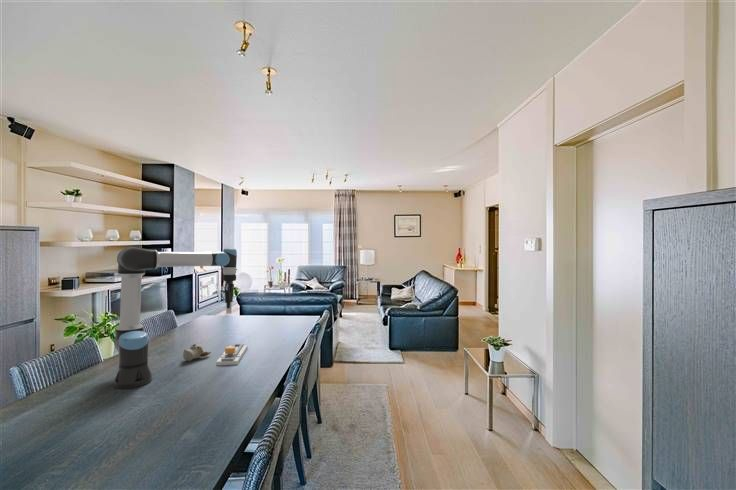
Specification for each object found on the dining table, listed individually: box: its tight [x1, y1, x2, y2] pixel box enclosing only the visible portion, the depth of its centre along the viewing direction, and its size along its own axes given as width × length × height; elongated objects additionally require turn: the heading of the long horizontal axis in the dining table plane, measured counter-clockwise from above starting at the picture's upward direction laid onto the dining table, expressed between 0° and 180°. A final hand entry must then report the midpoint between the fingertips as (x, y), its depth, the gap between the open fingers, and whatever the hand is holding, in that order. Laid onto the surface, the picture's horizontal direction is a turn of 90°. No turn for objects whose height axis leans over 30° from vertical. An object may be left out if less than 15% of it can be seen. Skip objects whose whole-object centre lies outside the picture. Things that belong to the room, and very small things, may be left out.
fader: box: [224, 346, 236, 357], centre depth 202 cm, size 3×5×5 cm, turn 99°
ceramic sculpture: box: [182, 343, 212, 362], centre depth 204 cm, size 11×9×15 cm
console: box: [216, 343, 249, 366], centre depth 208 cm, size 30×11×3 cm, turn 9°
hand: (228, 313), depth 211 cm, fingers closed
